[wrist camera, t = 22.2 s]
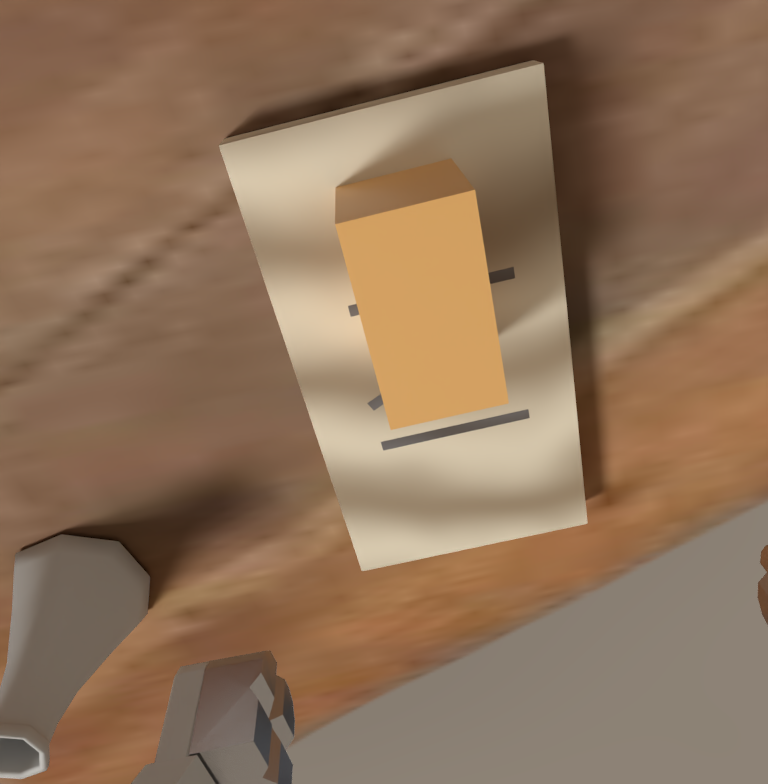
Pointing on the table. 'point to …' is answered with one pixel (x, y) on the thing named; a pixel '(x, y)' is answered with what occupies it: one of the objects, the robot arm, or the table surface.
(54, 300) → the table surface
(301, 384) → the birch board
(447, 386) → the block
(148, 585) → the flask
